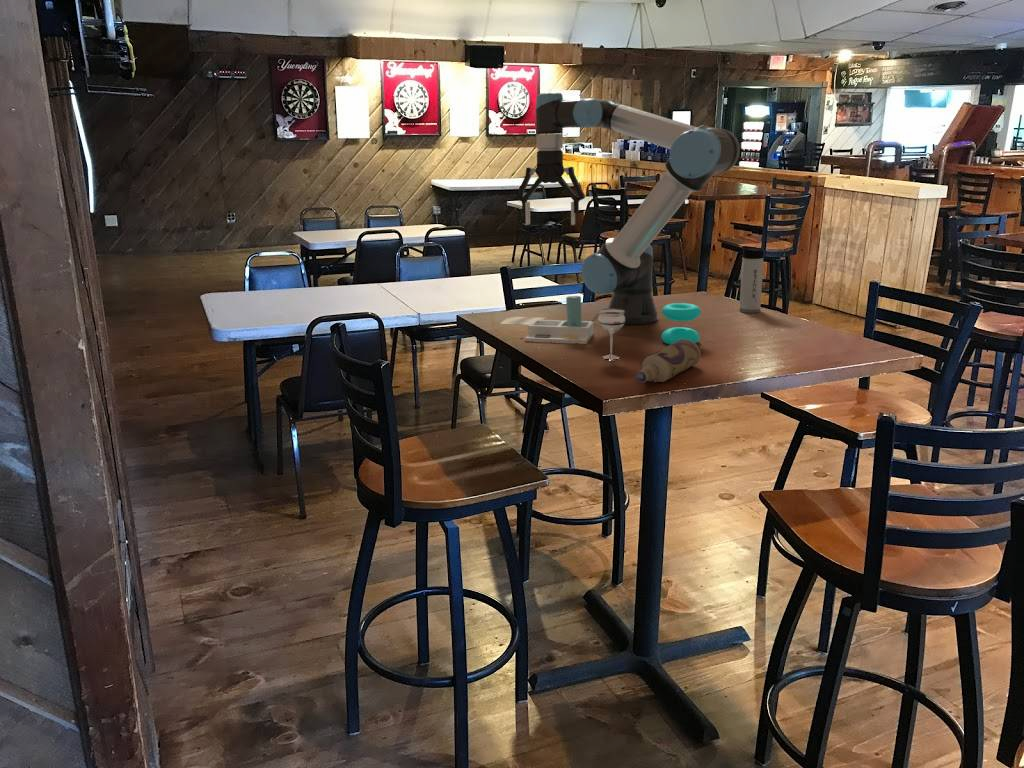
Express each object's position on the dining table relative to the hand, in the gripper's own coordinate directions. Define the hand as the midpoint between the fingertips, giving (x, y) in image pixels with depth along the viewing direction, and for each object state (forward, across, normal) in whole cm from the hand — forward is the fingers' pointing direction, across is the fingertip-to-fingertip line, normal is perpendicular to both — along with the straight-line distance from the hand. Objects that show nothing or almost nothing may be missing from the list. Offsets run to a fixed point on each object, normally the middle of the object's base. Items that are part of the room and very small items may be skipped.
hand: (550, 224), depth 245 cm
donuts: (+29, -40, +22) cm, 54 cm away
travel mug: (+29, -59, -21) cm, 69 cm away
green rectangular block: (+28, -11, +20) cm, 36 cm away
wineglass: (+29, -24, +41) cm, 56 cm away
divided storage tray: (+29, -7, +22) cm, 37 cm away
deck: (+29, +7, +7) cm, 30 cm away
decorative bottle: (+29, -38, +55) cm, 73 cm away
